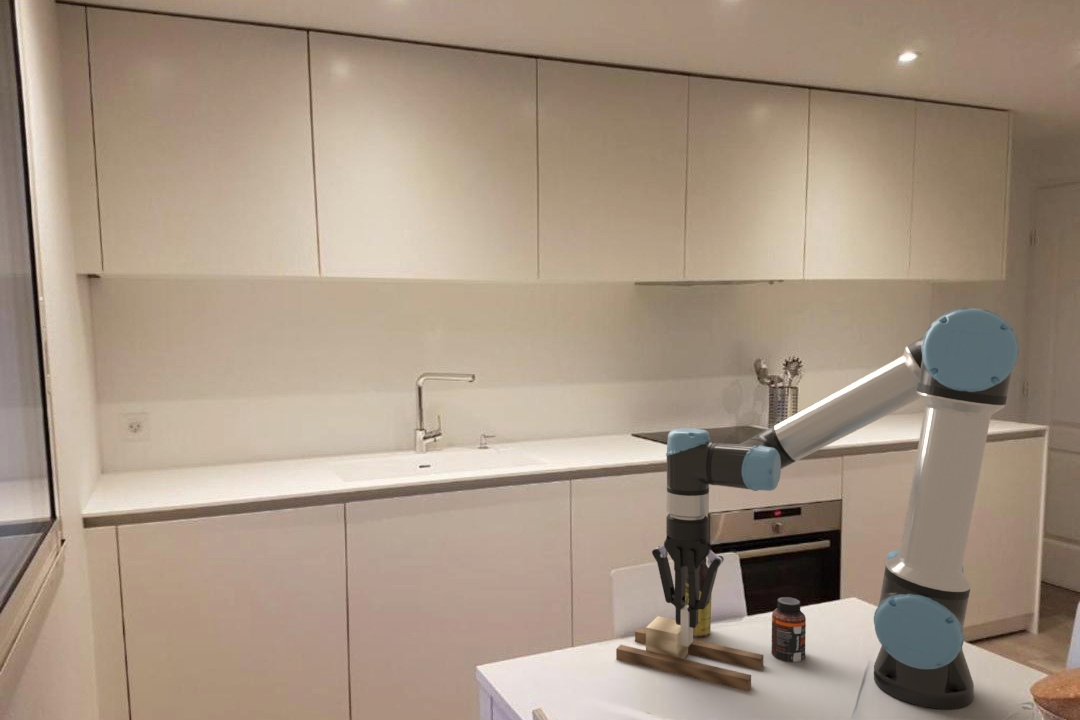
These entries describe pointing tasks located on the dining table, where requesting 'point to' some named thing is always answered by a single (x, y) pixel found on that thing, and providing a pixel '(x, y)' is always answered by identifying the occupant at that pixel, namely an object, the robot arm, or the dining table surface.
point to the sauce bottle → (703, 614)
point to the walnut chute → (695, 668)
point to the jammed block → (665, 638)
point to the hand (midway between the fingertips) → (686, 643)
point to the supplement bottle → (788, 631)
